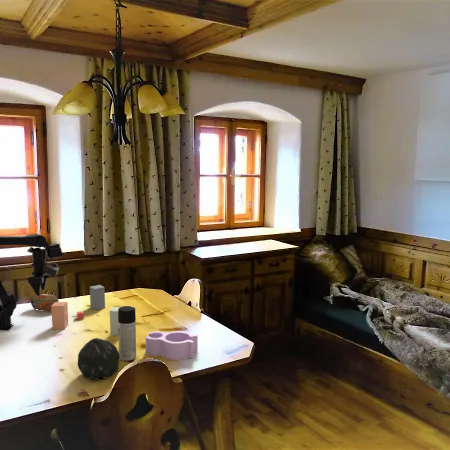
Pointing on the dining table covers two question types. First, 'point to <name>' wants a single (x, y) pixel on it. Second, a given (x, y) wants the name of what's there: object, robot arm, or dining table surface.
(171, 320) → the dining table surface
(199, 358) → the dining table surface
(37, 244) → the robot arm
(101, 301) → the tall grey pillar
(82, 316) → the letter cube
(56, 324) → the salmon pink pillar
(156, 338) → the clip
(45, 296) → the tin
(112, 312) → the pale grey tall block
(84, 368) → the squash
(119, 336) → the spray can
